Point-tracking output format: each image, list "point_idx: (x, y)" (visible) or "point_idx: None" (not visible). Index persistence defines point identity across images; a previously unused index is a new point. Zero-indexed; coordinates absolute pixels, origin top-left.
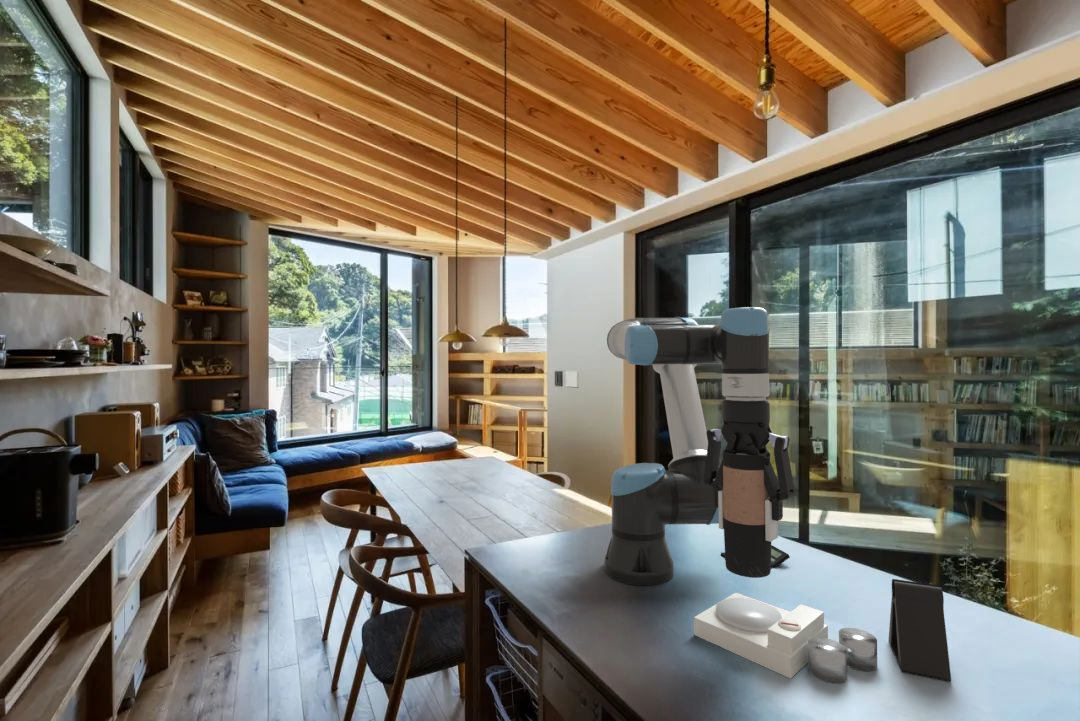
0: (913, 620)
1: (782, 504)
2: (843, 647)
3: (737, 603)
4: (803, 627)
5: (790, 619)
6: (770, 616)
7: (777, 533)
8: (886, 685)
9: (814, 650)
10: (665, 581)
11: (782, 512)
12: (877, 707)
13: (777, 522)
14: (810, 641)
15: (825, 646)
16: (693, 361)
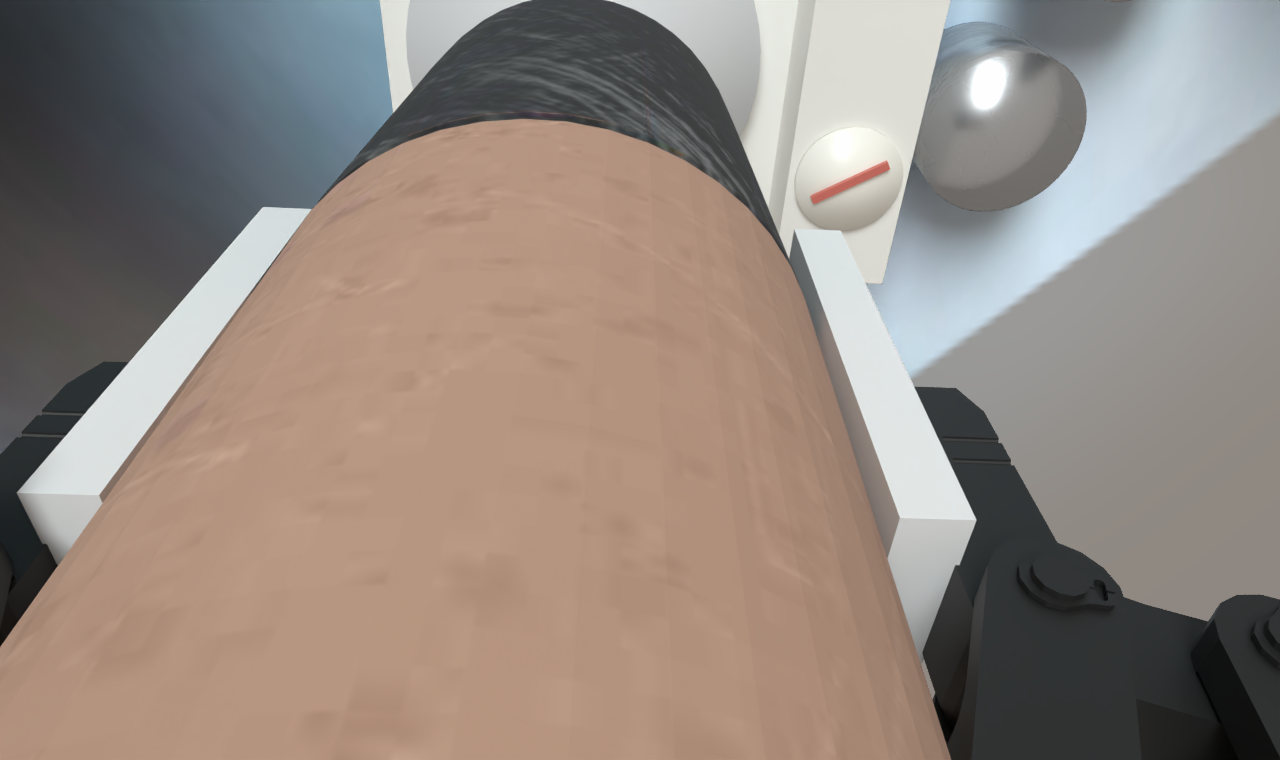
0: None
1: (1044, 528)
2: (1073, 91)
3: (488, 6)
4: (909, 149)
5: (835, 110)
6: (696, 26)
7: (848, 253)
8: (1186, 11)
9: (954, 204)
10: None
11: (1000, 451)
12: (1133, 191)
13: (878, 313)
14: (930, 148)
15: (996, 144)
16: None
